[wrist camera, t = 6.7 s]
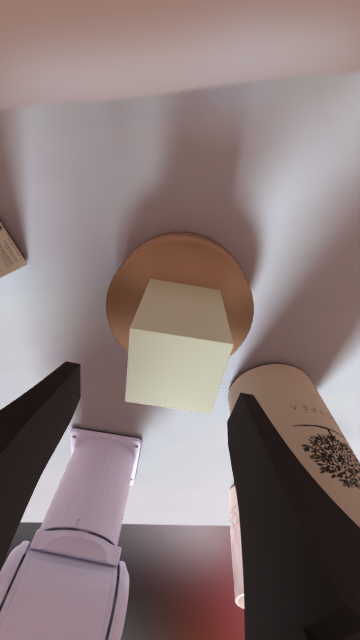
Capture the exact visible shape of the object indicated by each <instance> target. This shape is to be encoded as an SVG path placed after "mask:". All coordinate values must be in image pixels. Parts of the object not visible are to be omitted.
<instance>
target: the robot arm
mask: <svg viewBox="0 0 360 640" xmlns="http://www.w3.org/2000/svg"><path fill="white" fill-rule="evenodd" d="M80 397H81V395H80V364H76V363H71V362H65V363H63V364H62V365H61V366H60V367H58V368H57V369H56V370H55V371H53V372H52V373H51V374H49V375H48V376H47V377H46V378H44V379H43V380H42V381H40V382H39V383H38V384H36V385H35V386H34V387H32V388H31V389H30V390H28V391H27V392H26V393H24V394H23V395H22V396H20V397H19V398H17V399H16V400H14V401H13V402H11V403H10V404H8V405H7V406H6V407H4V408H3V409H1V410H0V569H1V567H2V564H3V562H4V559H5V557H6V555H7V552H8V550H9V547H10V545H11V542H12V540H13V537H14V535H15V533H16V531H17V528H18V526H19V523H20V521H21V519H22V516H23V514H24V512H25V509H26V507H27V505H28V503H29V500H30V498H31V496H32V494H33V491H34V489H35V487H36V485H37V482H38V480H39V478H40V476H41V474H42V472H43V470H44V469H45V467H46V465H47V463H48V461H49V460H50V458H51V456H52V454H53V452H54V450H55V449H56V447H57V445H58V443H59V441H60V440H61V438H62V436H63V434H64V432H65V430H66V429H67V427H68V425H69V423H70V421H71V419H72V417H73V415H74V412H75V410H76V407H77V405H78V402H79V400H80ZM227 427H228V446H229V452H230V459H231V465H232V471H233V477H234V483H235V489H236V495H237V502H238V509H239V520H240V533H241V548H242V564H243V586H244V611H245V613H244V614H245V640H360V527H359V526H358V525H357V524H356V523H355V522H354V521H353V520H352V519H351V518H350V517H349V516H348V515H347V514H346V513H345V512H344V511H343V510H342V509H341V508H340V507H339V506H338V505H337V504H336V503H335V502H334V501H333V500H332V499H331V497H330V496H329V495H328V494H327V493H326V492H325V491H324V490H323V489H322V487H321V486H320V485H319V484H318V483H317V482H316V480H315V479H314V478H313V477H312V476H311V475H310V474H309V472H308V471H307V470H306V469H305V467H304V466H303V465H302V464H301V462H300V461H299V460H298V458H297V457H296V456H295V455H294V453H293V452H292V451H291V449H290V448H289V447H288V445H287V444H286V443H285V441H284V440H283V438H282V437H281V435H280V434H279V433H278V431H277V430H276V428H275V427H274V425H273V424H272V422H271V421H270V419H269V418H268V416H267V415H266V413H265V412H264V410H263V409H262V407H261V406H260V404H259V403H258V401H257V399H256V398H255V396H254V395H252V394H246V393H241V392H240V394H239V397H238V399H237V401H236V403H235V406H234V408H233V410H232V412H231V415H230V417H229V419H228V422H227ZM70 442H71V458H70V461H69V463H68V465H67V468H66V470H65V472H64V475H63V477H62V479H61V481H60V484H59V486H58V488H57V491H56V493H55V495H54V498H53V500H52V502H51V505H50V507H49V509H48V511H47V514H46V516H45V518H44V521H43V523H42V525H41V528H40V530H37V532H36V534H35V536H34V538H33V540H32V543H31V545H30V542H28V541H23V542H22V543H21V545H19V546H17V547H16V548H14V549H13V550H12V552H11V553H10V555H9V557H8V559H7V560H6V562H5V564H4V566H3V568H2V570H1V572H0V640H120V639H121V635H122V630H123V626H124V621H125V615H126V609H127V602H128V592H129V574H128V571H127V569H126V565H125V562H123V561H119V558H120V553H121V547H117V545H118V540H119V535H120V530H121V525H122V520H123V516H124V511H125V506H126V501H127V496H128V491H129V486H130V485H133V484H134V480H135V475H136V469H137V464H138V458H139V453H140V448H141V442H142V441H141V440H140V439H139V438H133V437H127V436H120V435H114V434H108V433H101V432H95V431H89V430H82V429H76V428H74V429H72V430H71V432H70ZM29 546H30V547H29Z"/></svg>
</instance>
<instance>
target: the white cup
mask: <svg viewBox="0 0 360 640" xmlns="http://www.w3.org/2000/svg"><path fill="white" fill-rule="evenodd" d="M229 505H230V531H231V548H232V563H233V575H234V590H235V602H236V604H237V605H238V606H239V607H241V608H243V609H244V586H243V564H242V548H241V533H240V520H239V509H238V502H237V495H236V489H235V485H234V486H233V487H232V488H231V489H230V492H229Z"/></svg>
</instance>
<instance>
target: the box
mask: <svg viewBox="0 0 360 640" xmlns="http://www.w3.org/2000/svg"><path fill="white" fill-rule="evenodd" d="M25 265H26V261H25V260H24V258H23V257H22V255H21V253H20V252H19V250H18V249H17V247H16V245H15V244H14V242H13V241H12V239H11V238H10V236H9V235H8V233H7V231H6V230H5V228H4V227H3V225H2V224H1V222H0V278H2V277H3V276H5V275H7V274H9V273H11V272H13V271H15V270H17V269H19V268H21V267H23V266H25Z"/></svg>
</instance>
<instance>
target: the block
mask: <svg viewBox="0 0 360 640" xmlns="http://www.w3.org/2000/svg"><path fill="white" fill-rule="evenodd" d="M233 345H234V344H233V340H232V336H231V332H230V328H229V324H228V320H227V316H226V311H225V307H224V303H223V299H222V295H221V291H220V290H217V289H211V288H205V287H199V286H193V285H187V284H181V283H175V282H169V281H163V280H157V279H151V278H150V281H149V283H148V286H147V288H146V290H145V293H144V295H143V298H142V300H141V302H140V305H139V307H138V310H137V312H136V315H135V317H134V319H133V322H132V324H131V327H130V334H129V348H128V363H127V378H126V393H125V402H131V403H138V404H145V405H152V406H159V407H166V408H173V409H180V410H187V411H194V412H201V413H208V414H211V412H212V409H213V406H214V403H215V400H216V397H217V394H218V391H219V388H220V385H221V382H222V379H223V375H224V372H225V369H226V366H227V363H228V360H229V357H230V354H231V351H232V348H233Z"/></svg>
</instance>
